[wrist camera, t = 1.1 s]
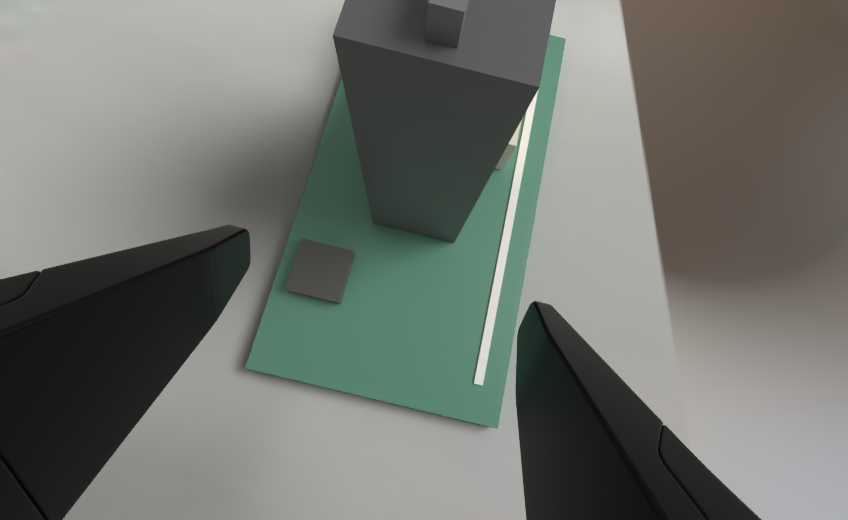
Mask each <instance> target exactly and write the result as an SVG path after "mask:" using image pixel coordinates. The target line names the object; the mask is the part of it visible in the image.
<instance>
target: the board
mask: <svg viewBox="0 0 848 520" xmlns="http://www.w3.org/2000/svg"><path fill="white" fill-rule="evenodd" d="M565 40H566V39H564V38H560V37H556V36H552V35H549V39H548V44H547V50H546V55H545V60H544V66H543V71H542V76H541V82H540V87H539V89H538V91H537V93H536V94H535V96H534V98H533V100H532V102H531V104H530V105H529V107H528V109H527V111H526V113H525V115H524V116H523V118H522V120H521V122H520V124H519V125H518V127H517V129H516V131H515V133H514V135H513V136H512V138H511V140H510V142H509V144H508V146H507V147H506V149H505V151H504V153H503V155H502V157H501V158H500V160H499V162H498V164H497V166H496V167H495V169H494V171H493V173H492V175H491V177H490V178H489V180H488V182H487V184H486V186H485V188H484V189H483V191H482V193H481V195H480V197H479V199H478V200H477V202H476V204H475V206H474V208H473V209H472V211H471V213H470V215H469V217H468V219H467V220H466V222H465V224H464V226H463V228H462V230H461V231H460V233H459V235H458V237H457V239H456V240H455V242H454V243H451V242H447V241H443V240H439V239H435V238H431V237H427V236H423V235H419V234H415V233H411V232H406V231H402V230H398V229H394V228H390V227H386V226H382V225H378V224H374V223H373V222H372V217H371V213H370V208H369V203H368V198H367V194H366V189H365V184H364V180H363V175H362V170H361V165H360V161H359V156H358V151H357V147H356V142H355V137H354V132H353V128H352V123H351V118H350V113H349V109H348V104H347V99H346V95H345V90H344V85H343V80H342V78H341V81H340V84H339V87H338V90H337V93H336V96H335V99H334V102H333V105H332V108H331V111H330V114H329V117H328V120H327V123H326V126H325V129H324V132H323V135H322V138H321V141H320V144H319V147H318V150H317V153H316V156H315V159H314V162H313V165H312V168H311V171H310V174H309V177H308V180H307V183H306V186H305V189H304V192H303V196H302V199H301V202H300V205H299V208H298V211H297V214H296V217H295V220H294V223H293V226H292V229H291V232H290V235H289V238H288V241H287V244H286V247H285V250H284V253H283V256H282V259H281V262H280V265H279V268H278V271H277V274H276V277H275V280H274V283H273V286H272V289H271V292H270V295H269V298H268V301H267V304H266V307H265V310H264V313H263V316H262V319H261V322H260V325H259V328H258V331H257V334H256V337H255V340H254V343H253V346H252V349H251V352H250V355H249V358H248V361H247V364H246V367H245V368H246V369H250V370H255V371H259V372H263V373H267V374H271V375H276V376H280V377H284V378H288V379H292V380H297V381H301V382H305V383H309V384H313V385H317V386H322V387H326V388H330V389H334V390H338V391H343V392H347V393H351V394H355V395H359V396H364V397H368V398H372V399H376V400H380V401H384V402H389V403H393V404H397V405H401V406H405V407H410V408H414V409H418V410H422V411H426V412H431V413H435V414H439V415H443V416H447V417H451V418H456V419H460V420H464V421H468V422H472V423H477V424H481V425H485V426H489V427H493V428H498V423H499V417H500V412H501V406H502V400H503V394H504V389H505V383H506V377H507V372H508V366H509V360H510V354H511V349H512V343H513V337H514V332H515V326H516V320H517V314H518V309H519V303H520V297H521V291H522V286H523V280H524V274H525V269H526V263H527V257H528V251H529V246H530V240H531V234H532V229H533V223H534V217H535V211H536V206H537V200H538V194H539V188H540V183H541V177H542V171H543V166H544V160H545V154H546V148H547V143H548V137H549V131H550V125H551V120H552V114H553V108H554V103H555V97H556V91H557V85H558V80H559V74H560V68H561V63H562V57H563V51H564V45H565Z"/></svg>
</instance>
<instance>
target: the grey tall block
mask: <svg viewBox="0 0 848 520" xmlns="http://www.w3.org/2000/svg"><path fill="white" fill-rule="evenodd" d="M555 2H556V0H345V2H344V5H343V8H342V11H341V14H340V17H339V19H338V22H337V25H336V28H335V31H334V34H333V38H334V43H335V47H336V52H337V57H338V62H339V66H340V71H341V76H342V80H343V85H344V90H345V95H346V99H347V104H348V109H349V113H350V118H351V123H352V128H353V132H354V137H355V142H356V147H357V151H358V156H359V161H360V165H361V170H362V175H363V180H364V184H365V189H366V194H367V198H368V203H369V208H370V213H371V217H372V222H373V223H374V224H378V225H382V226H386V227H390V228H394V229H398V230H402V231H406V232H411V233H415V234H419V235H423V236H427V237H431V238H435V239H439V240H443V241H447V242H451V243H454V242H455V240H456V239H457V237H458V235H459V233H460V231H461V230H462V228H463V226H464V224H465V222H466V220H467V219H468V217H469V215H470V213H471V211H472V209H473V208H474V206H475V204H476V202H477V200H478V199H479V197H480V195H481V193H482V191H483V189H484V188H485V186H486V184H487V182H488V180H489V178H490V177H491V175H492V173H493V171H494V169H495V167H496V166H497V164H498V162H499V160H500V158H501V157H502V155H503V153H504V151H505V149H506V147H507V146H508V144H509V142H510V140H511V138H512V136H513V135H514V133H515V131H516V129H517V127H518V125H519V124H520V122H521V120H522V118H523V116H524V115H525V113H526V111H527V109H528V107H529V105H530V104H531V102H532V100H533V98H534V96H535V94H536V93H537V91H538V89H539V87H540V82H541V76H542V71H543V66H544V60H545V55H546V50H547V44H548V39H549V34H550V28H551V23H552V18H553V12H554V7H555Z"/></svg>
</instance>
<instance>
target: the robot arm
mask: <svg viewBox="0 0 848 520" xmlns="http://www.w3.org/2000/svg"><path fill="white" fill-rule="evenodd" d="M249 265H250V237H249V232H248V231H247V230H246V229H244V228H240V227H236V226H232V225H227V226H222V227H218V228H214V229H210V230H206V231H202V232H197V233H193V234H189V235H185V236H181V237H177V238H172V239H168V240H164V241H160V242H156V243H151V244H147V245H143V246H139V247H135V248H131V249H126V250H122V251H118V252H114V253H110V254H106V255H101V256H97V257H93V258H89V259H85V260H81V261H76V262H72V263H68V264H64V265H60V266H56V267H51V268H47V269H43V270H42V271H41V272H39V271H34V272H30V273H26V274H22V275H18V276H13V277H9V278H5V279H0V520H62V519H63V518H64V517H65V515H66V514H67V513H68V512H69V510H70V509H71V508H72V506H73V505H74V504H75V503H76V501H77V500H78V499H79V497H80V496H81V495H82V494H83V492H84V491H85V490H86V488H87V487H88V486H89V485H90V483H91V482H92V481H93V479H94V478H95V477H96V476H97V474H98V473H99V472H100V470H101V469H102V468H103V467H104V465H105V464H106V463H107V461H108V460H109V459H110V458H111V456H112V455H113V454H114V452H115V451H116V450H117V448H118V447H119V446H120V445H121V443H122V442H123V441H124V439H125V438H126V437H127V436H128V434H129V433H130V432H131V430H132V429H133V428H134V427H135V425H136V424H137V423H138V421H139V420H140V419H141V418H142V416H143V415H144V414H145V412H146V411H147V410H148V409H149V407H150V406H151V405H152V403H153V402H154V401H155V400H156V398H157V397H158V396H159V394H160V393H161V392H162V391H163V389H164V388H165V387H166V385H167V384H168V383H169V382H170V380H171V379H172V378H173V376H174V375H175V374H176V373H177V371H178V370H179V369H180V367H181V366H182V365H183V363H184V362H185V361H186V360H187V358H188V357H189V356H190V354H191V353H192V352H193V351H194V349H195V348H196V347H197V345H198V344H199V343H200V342H201V340H202V339H203V338H204V336H205V335H206V334H207V333H208V331H209V330H210V329H211V327H212V326H213V325H214V323H215V322H216V321H217V319H218V317H219V316H220V314H221V313H222V311H223V310H224V308H225V306H226V305H227V303H228V301H229V300H230V298H231V296H232V295H233V293H234V291H235V290H236V288H237V286H238V285H239V283H240V281H241V280H242V278H243V276H244V275H245V273H246V272H247V270H248V268H249ZM516 406H517V418H518V429H519V440H520V451H521V463H522V474H523V485H524V497H525V508H526V519H527V520H761V519H760V518H759V517H758V516H757V515H756V514H755V513H754V512H753V511H752V510H750V508H748V507H747V506H746V505H745V504H744V503H743V502H742V501H741V500H740V499H739V498H738V497H737V496H736V495H735V494H734V493H733V492H731V490H730V489H728V488H727V487H726V486H725V485H724V484H723V483H722V482H721V481H720V480H719V479H718V478H717V477H716V476H715V475H714V474H713V473H711V471H710V470H709V469H708V468H707V467H706V466H705V465H704V464H703V463H702V462H701V461H700V460H699V459H698V458H697V457H696V456H695V455H694V454H693V453H692V452H691V451H690V450H689V449H688V448H687V447H686V446H685V445H684V444H683V443H682V442H681V441H680V440H679V439H678V438H677V437H676V436H675V434H674V433H673V432H672V431H671V430H670V429H669V428H668V427H667V426H665V425H663V422H662V421H661V420H660V419H659V418H658V417H657V416H656V415H655V414H654V413H653V412H652V410H651V409H650V408H649V407H648V406H647V405H646V404H645V403H644V402H643V401H642V400H641V399H640V398H639V397H638V396H637V395H636V394H635V393H634V392H633V391H632V390H631V388H630V387H629V386H628V385H627V384H626V383H625V382H624V381H623V380H622V379H621V378H620V377H619V376H618V375H617V374H616V373H615V372H614V371H613V370H612V369H611V367H610V366H609V365H608V364H607V363H606V362H605V361H604V360H603V359H602V358H601V357H600V356H599V355H598V354H597V353H596V352H595V351H594V350H593V349H592V348H591V347H590V345H589V344H588V343H587V342H586V341H585V340H584V339H583V338H582V337H581V336H580V335H579V334H578V333H577V332H576V331H575V330H574V329H573V328H572V327H571V326H570V324H569V323H568V322H567V321H566V320H565V319H564V318H563V317H562V316H561V315H560V314H559V313H558V312H557V311H556V310H555V309H554V308H553V307H552V306H551V305H549V304H545V303H541V302H537V301H534V302H532V303H531V304H530V306H529V308H528V310H527V312H526V314H525V316H524V318H523V321H522V323H521V325H520V327H519V330H518V336H517V364H516Z"/></svg>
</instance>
